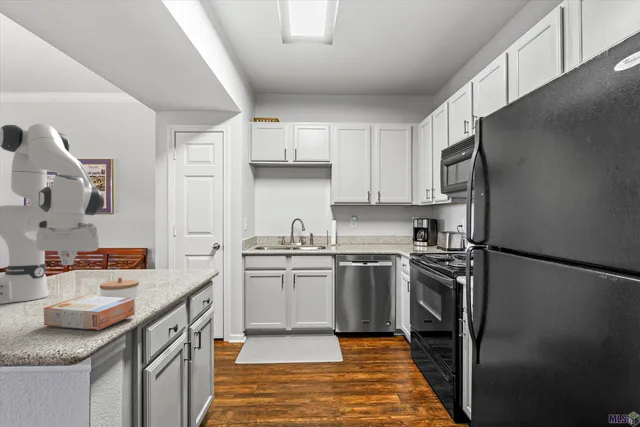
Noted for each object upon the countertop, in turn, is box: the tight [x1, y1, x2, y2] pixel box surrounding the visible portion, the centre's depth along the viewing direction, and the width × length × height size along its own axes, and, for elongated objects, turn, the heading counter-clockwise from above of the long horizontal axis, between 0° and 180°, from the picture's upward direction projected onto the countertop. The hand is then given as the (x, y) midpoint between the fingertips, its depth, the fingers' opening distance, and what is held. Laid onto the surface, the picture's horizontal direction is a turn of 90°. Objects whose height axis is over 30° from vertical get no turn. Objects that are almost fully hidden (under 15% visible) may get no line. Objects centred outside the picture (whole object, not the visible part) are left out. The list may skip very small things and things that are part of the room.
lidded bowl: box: [99, 277, 140, 301], centre depth 121 cm, size 13×13×11 cm
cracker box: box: [43, 294, 136, 331], centre depth 102 cm, size 14×6×21 cm
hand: (67, 264), depth 105 cm, fingers closed
